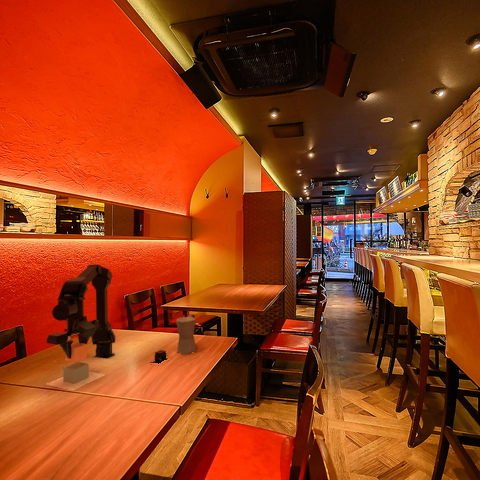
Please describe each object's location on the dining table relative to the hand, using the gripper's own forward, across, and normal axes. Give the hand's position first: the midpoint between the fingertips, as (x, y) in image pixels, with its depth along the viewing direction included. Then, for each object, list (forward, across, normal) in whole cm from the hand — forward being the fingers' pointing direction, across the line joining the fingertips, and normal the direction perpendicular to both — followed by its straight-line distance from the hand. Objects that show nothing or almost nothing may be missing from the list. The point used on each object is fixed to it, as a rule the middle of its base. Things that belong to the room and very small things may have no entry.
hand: (76, 356), depth 115 cm
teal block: (+9, 0, 0) cm, 9 cm away
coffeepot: (+10, +44, -20) cm, 49 cm away
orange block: (+1, 0, 0) cm, 1 cm away
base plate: (+10, 0, 0) cm, 10 cm away
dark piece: (+11, +28, -16) cm, 34 cm away
